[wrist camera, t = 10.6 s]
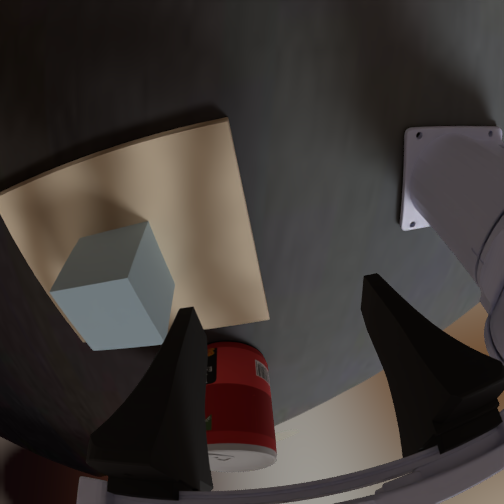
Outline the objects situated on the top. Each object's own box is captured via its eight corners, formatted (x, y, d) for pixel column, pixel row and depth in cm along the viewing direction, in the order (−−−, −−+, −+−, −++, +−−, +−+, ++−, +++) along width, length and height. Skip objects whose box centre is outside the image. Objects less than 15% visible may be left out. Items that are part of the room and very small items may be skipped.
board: (227, 116, 17) (227, 121, 16) (268, 308, 27) (269, 319, 26) (1, 191, 18) (-7, 199, 17) (86, 332, 28) (83, 342, 27)
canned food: (199, 331, 28) (193, 445, 19) (280, 347, 30) (294, 452, 21) (182, 373, 32) (176, 467, 23) (251, 384, 34) (257, 474, 25)
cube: (148, 220, 19) (127, 277, 15) (175, 284, 23) (165, 344, 18) (79, 238, 20) (49, 292, 15) (111, 294, 23) (93, 350, 19)
